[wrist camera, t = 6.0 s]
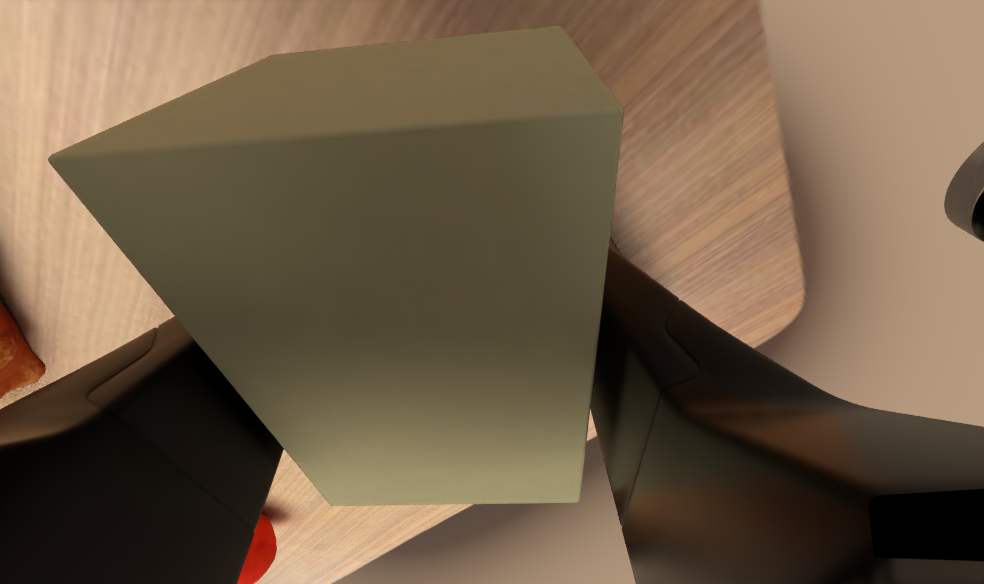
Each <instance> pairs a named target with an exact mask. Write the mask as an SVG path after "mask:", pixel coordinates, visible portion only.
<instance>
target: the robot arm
mask: <svg viewBox="0 0 984 584" xmlns="http://www.w3.org/2000/svg"><path fill="white" fill-rule="evenodd" d="M590 409H591V412H592V416H593V420H594V424H595V428H596V432H597V436H598V439H599V443H600V447H601V451H602V455H603V458H604V462H605V466H606V470H607V474H608V478H609V482H610V485H611V489H612V493H613V497H614V501H615V504H616V508H617V512H618V516H619V520H620V524H621V526H622V532H623V536H624V540H625V544H626V547H627V551H628V555H629V559H630V563H631V566H632V570H633V574H634V577H635V582H636V584H984V427H981V426H974V425H969V424H963V423H957V422H951V421H945V420H938V419H932V418H926V417H920V416H914V415H908V414H902V413H896V412H890V411H884V410H878V409H873V408H868V407H864V406H861V405H857V404H854V403H851V402H848V401H845V400H843V399H840V398H838V397H835V396H833V395H831V394H829V393H827V392H825V391H823V390H821V389H819V388H818V387H816V386H814V385H812V384H811V383H809V382H807V381H806V380H804V379H802V378H801V377H799V376H798V375H796V374H794V373H793V372H791V371H789V370H788V369H786V368H784V367H783V366H781V365H779V364H778V363H776V362H774V361H773V360H771V359H770V358H768V357H766V356H765V355H763V354H761V353H760V352H758V351H757V350H755V349H753V348H752V347H750V346H748V345H747V344H745V343H743V342H742V341H740V340H739V339H737V338H736V337H734V336H732V335H731V334H729V333H728V332H726V331H725V330H723V329H722V328H720V327H718V326H717V325H715V324H714V323H713V322H711V321H710V320H708V319H707V318H705V317H704V316H703V315H701V314H700V313H698V312H697V311H696V310H694V309H693V308H691V307H690V306H689V305H687V304H686V303H685V302H683V301H682V300H680V301H679V298H678V297H676V296H675V295H674V294H672V293H671V292H670V291H668V290H667V289H666V288H664V287H663V286H662V285H660V284H659V283H658V282H656V281H655V280H654V279H652V278H651V277H650V276H648V275H647V274H646V273H644V272H643V271H642V270H640V269H639V268H638V267H636V266H635V265H633V264H632V263H631V262H629V261H628V260H627V259H625V258H624V257H623V256H621V255H620V254H619V253H617V252H616V251H615V250H613V249H612V248H611V247H609V248H608V256H607V265H606V274H605V283H604V291H603V300H602V309H601V318H600V326H599V335H598V344H597V353H596V361H595V370H594V379H593V388H592V396H591V405H590ZM283 450H284V448H283V447H282V446H281V444H280V443H279V442H278V441H277V439H276V438H275V437H274V436H273V435H272V433H271V432H270V431H269V430H268V429H267V427H266V426H265V425H264V424H263V422H262V421H261V420H260V419H259V418H258V416H257V415H256V414H255V413H254V411H253V410H252V409H251V408H250V407H249V405H248V404H247V403H246V402H245V400H244V399H243V398H242V397H241V396H240V394H239V393H238V392H237V391H236V390H235V388H234V387H233V386H232V385H231V383H230V382H229V381H228V380H227V379H226V377H225V376H224V375H223V374H222V372H221V371H220V370H219V369H218V368H217V366H216V365H215V364H214V363H213V361H212V360H211V359H210V358H209V357H208V355H207V354H206V353H205V352H204V351H203V349H202V348H201V347H200V346H199V344H198V343H197V342H196V341H195V340H194V338H193V337H192V336H191V335H190V333H189V332H188V331H187V330H186V329H185V327H184V326H183V325H182V324H181V322H180V321H179V320H178V319H177V318H176V316H175V317H173V318H171V319H169V320H168V321H166V322H164V323H162V324H161V325H159V327H158V328H153V329H152V330H150V331H148V332H146V333H145V334H143V335H141V336H139V337H138V338H136V339H134V340H132V341H130V342H128V343H127V344H125V345H123V346H121V347H119V348H118V349H116V350H114V351H112V352H110V353H108V354H107V355H105V356H103V357H101V358H99V359H97V360H95V361H93V362H91V363H89V364H88V365H86V366H84V367H82V368H80V369H78V370H76V371H74V372H72V373H70V374H68V375H66V376H64V377H62V378H61V379H59V380H57V381H55V382H53V383H51V384H49V385H47V386H45V387H43V388H41V389H39V390H37V391H35V392H33V393H31V394H29V395H27V396H25V397H23V398H21V399H19V400H18V401H16V402H14V403H12V404H10V405H8V406H6V407H4V408H2V409H0V584H237V583H238V580H239V577H240V574H241V571H242V569H243V566H244V563H245V560H246V557H247V554H248V551H249V548H250V546H251V543H252V540H253V537H254V534H255V531H254V530H255V529H256V527H257V525H258V522H259V519H260V516H261V513H262V510H263V507H264V504H265V502H266V499H267V496H268V493H269V490H270V487H271V484H272V481H273V479H274V476H275V473H276V470H277V467H278V464H279V461H280V458H281V456H282V453H283Z"/></svg>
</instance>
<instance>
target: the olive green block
mask: <svg viewBox="0 0 984 584" xmlns="http://www.w3.org/2000/svg"><path fill="white" fill-rule="evenodd" d="M623 116H624V109H623V106H622V105H621V104H620V103H619V101H618V100H617V99H616V97H615V96H614V95H613V93H612V92H611V91H610V89H609V88H608V87H607V85H606V84H605V83H604V82H603V80H602V79H601V78H600V76H599V75H598V74H597V72H596V71H595V70H594V68H593V67H592V66H591V64H590V63H589V62H588V61H587V59H586V58H585V57H584V55H583V54H582V53H581V51H580V50H579V49H578V47H577V46H576V45H575V43H574V42H573V41H572V39H571V38H570V37H569V36H568V34H567V33H566V32H565V30H564V29H563V28H562V26H559V25H558V26H549V27H539V28H529V29H519V30H510V31H500V32H490V33H481V34H471V35H461V36H452V37H442V38H432V39H423V40H413V41H403V42H393V43H384V44H374V45H364V46H355V47H345V48H335V49H326V50H316V51H306V52H297V53H287V54H277V55H271V56H269V57H267V58H265V59H262V60H260V61H258V62H256V63H254V64H251V65H249V66H247V67H245V68H242V69H240V70H238V71H236V72H234V73H231V74H229V75H227V76H225V77H223V78H220V79H218V80H216V81H214V82H211V83H209V84H207V85H205V86H203V87H200V88H198V89H196V90H194V91H192V92H189V93H187V94H185V95H183V96H181V97H178V98H176V99H174V100H172V101H169V102H167V103H165V104H163V105H161V106H158V107H156V108H154V109H152V110H150V111H147V112H145V113H143V114H141V115H139V116H136V117H134V118H132V119H130V120H127V121H125V122H123V123H121V124H119V125H116V126H114V127H112V128H110V129H108V130H105V131H103V132H101V133H99V134H96V135H94V136H92V137H90V138H88V139H85V140H83V141H81V142H79V143H77V144H74V145H72V146H70V147H68V148H66V149H63V150H61V151H59V152H57V153H54V154H52V155H51V156H50V157H49V158H48V161H49V163H50V164H51V165H52V166H53V168H54V169H55V170H56V171H57V173H58V174H59V175H60V176H61V177H62V179H63V180H64V181H65V182H66V184H67V185H68V186H69V187H70V188H71V190H72V191H73V192H74V193H75V194H76V196H77V197H78V198H79V199H80V201H81V202H82V203H83V204H84V205H85V207H86V208H87V209H88V210H89V212H90V213H91V214H92V215H93V216H94V218H95V219H96V220H97V221H98V223H99V224H100V225H101V226H102V227H103V229H104V230H105V231H106V232H107V233H108V235H109V236H110V237H111V238H112V240H113V241H114V242H115V243H116V244H117V246H118V247H119V248H120V249H121V251H122V252H123V253H124V254H125V255H126V257H127V258H128V259H129V260H130V262H131V263H132V264H133V265H134V266H135V268H136V269H137V270H138V271H139V273H140V274H141V275H142V276H143V277H144V279H145V280H146V281H147V282H148V283H149V285H150V286H151V287H152V288H153V290H154V291H155V292H156V293H157V294H158V296H159V297H160V298H161V299H162V301H163V302H164V303H165V304H166V305H167V307H168V308H169V309H170V310H171V312H172V313H173V314H174V315H175V316H176V318H177V319H178V320H179V321H180V322H181V324H182V325H183V326H184V327H185V329H186V330H187V331H188V332H189V333H190V335H191V336H192V337H193V338H194V340H195V341H196V342H197V343H198V344H199V346H200V347H201V348H202V349H203V351H204V352H205V353H206V354H207V355H208V357H209V358H210V359H211V360H212V361H213V363H214V364H215V365H216V366H217V368H218V369H219V370H220V371H221V372H222V374H223V375H224V376H225V377H226V379H227V380H228V381H229V382H230V383H231V385H232V386H233V387H234V388H235V390H236V391H237V392H238V393H239V394H240V396H241V397H242V398H243V399H244V400H245V402H246V403H247V404H248V405H249V407H250V408H251V409H252V410H253V411H254V413H255V414H256V415H257V416H258V418H259V419H260V420H261V421H262V422H263V424H264V425H265V426H266V427H267V429H268V430H269V431H270V432H271V433H272V435H273V436H274V437H275V438H276V439H277V441H278V442H279V443H280V444H281V446H282V447H283V448H284V449H285V450H286V452H287V453H288V454H289V455H290V457H291V458H292V459H293V460H294V461H295V463H296V464H297V465H298V466H299V468H300V469H301V470H302V471H303V472H304V474H305V475H306V476H307V477H308V478H309V480H310V481H311V482H312V483H313V485H314V486H315V487H316V488H317V489H318V491H319V492H320V493H321V494H322V496H323V497H324V498H325V499H326V500H327V502H328V503H329V504H330V505H331V506H373V505H438V504H501V503H502V504H504V503H567V502H568V503H569V502H579V500H580V493H581V483H582V475H583V466H584V457H585V449H586V440H587V431H588V423H589V414H590V405H591V396H592V388H593V379H594V370H595V361H596V353H597V344H598V335H599V326H600V318H601V309H602V300H603V291H604V283H605V274H606V265H607V256H608V248H609V239H610V230H611V221H612V213H613V204H614V195H615V186H616V178H617V169H618V160H619V151H620V143H621V134H622V125H623Z"/></svg>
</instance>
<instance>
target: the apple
mask: <svg viewBox="0 0 984 584" xmlns="http://www.w3.org/2000/svg"><path fill="white" fill-rule="evenodd" d="M254 531H255V534H254V537H253V540H252V543H251V546H250V548H249V551H248V554H247V557H246V560H245V563H244V566H243V569H242V571H241V574H240V577H239V580H238V583H237V584H254V583H255V582H257V581H258V580H259V579H260V578H261V577H262V576H263V575H264V574H265V573H266V572H267V570H268V568H269V567H270V565H271V564H272V562H273V561H274V559H275V555H276V551H277V546H276V537H275V534H274V530H273V526H272V524H271V522H270V520H269V519H268V518H267V517H266V516H265V515H263V514H261V516H260V519H259V522H258V525H257V527H256V529H255V530H254Z"/></svg>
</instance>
